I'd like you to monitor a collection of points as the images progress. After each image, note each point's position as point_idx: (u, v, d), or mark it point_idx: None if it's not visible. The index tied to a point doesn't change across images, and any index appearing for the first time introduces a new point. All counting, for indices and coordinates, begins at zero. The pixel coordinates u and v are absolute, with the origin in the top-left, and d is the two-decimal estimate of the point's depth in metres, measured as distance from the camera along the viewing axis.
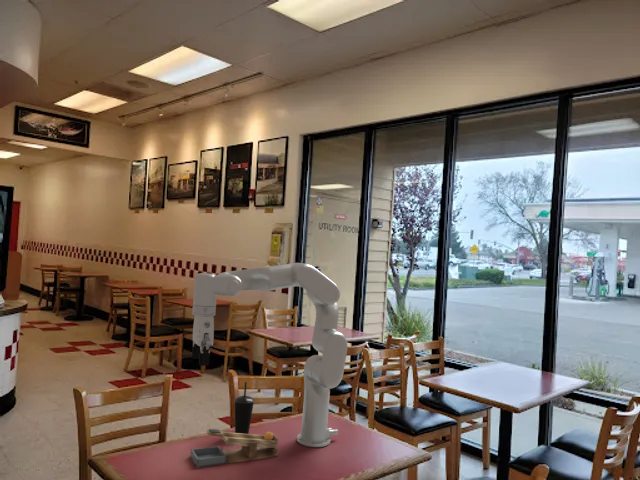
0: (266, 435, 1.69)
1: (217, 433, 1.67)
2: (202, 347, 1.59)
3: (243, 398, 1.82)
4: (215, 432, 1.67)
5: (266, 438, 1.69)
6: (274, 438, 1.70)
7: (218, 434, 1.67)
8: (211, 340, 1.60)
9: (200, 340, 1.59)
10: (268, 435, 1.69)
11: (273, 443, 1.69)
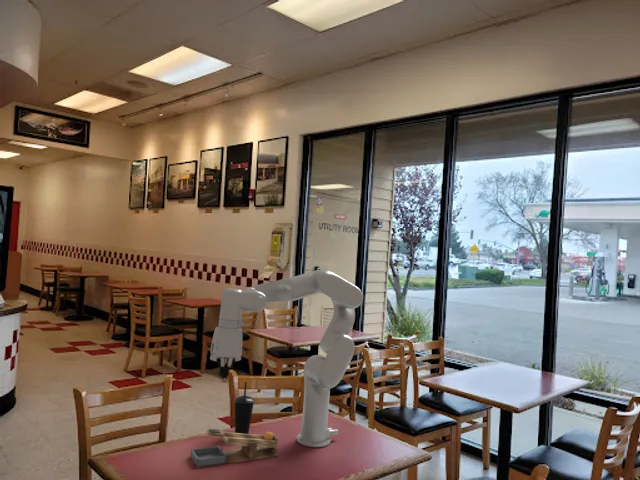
0: (266, 435, 1.69)
1: (217, 433, 1.67)
2: (231, 361, 1.70)
3: (243, 398, 1.82)
4: (215, 432, 1.67)
5: (266, 438, 1.69)
6: (274, 438, 1.70)
7: (218, 434, 1.67)
8: None
9: (241, 351, 1.71)
10: (268, 435, 1.69)
11: (273, 443, 1.69)
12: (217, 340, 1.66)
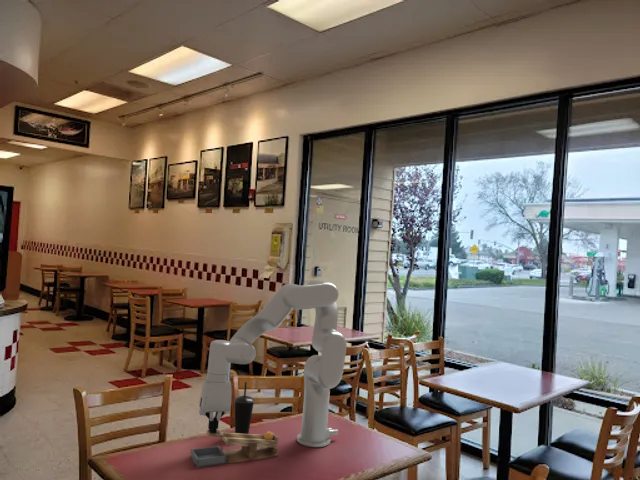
0: (266, 435, 1.69)
1: (217, 434, 1.67)
2: (220, 414, 1.68)
3: (243, 398, 1.82)
4: (215, 433, 1.67)
5: (266, 438, 1.69)
6: (274, 438, 1.70)
7: (218, 435, 1.67)
8: None
9: (230, 404, 1.69)
10: (268, 435, 1.69)
11: (273, 443, 1.69)
12: (205, 395, 1.64)
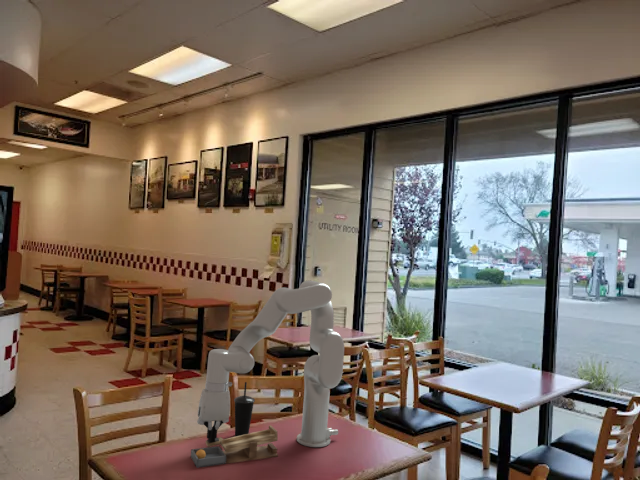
0: None
1: (216, 442, 1.67)
2: None
3: (243, 398, 1.82)
4: None
5: (204, 457, 1.59)
6: (273, 431, 1.70)
7: (217, 442, 1.67)
8: None
9: (229, 413, 1.68)
10: None
11: (273, 437, 1.68)
12: (204, 404, 1.64)
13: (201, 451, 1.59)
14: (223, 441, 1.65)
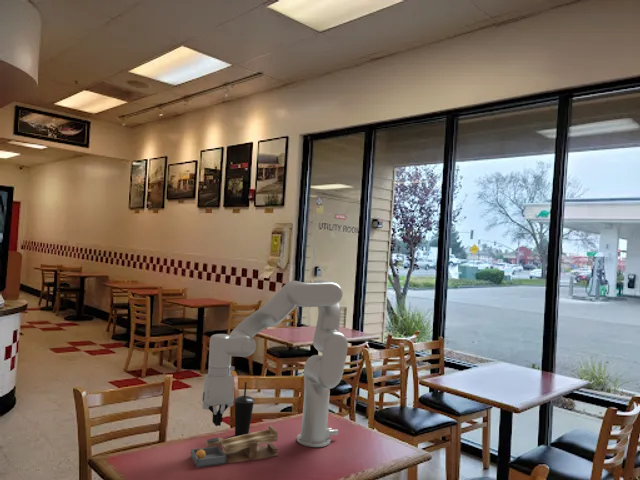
0: None
1: (216, 442, 1.67)
2: None
3: (243, 398, 1.82)
4: (214, 441, 1.67)
5: (204, 457, 1.59)
6: (273, 431, 1.70)
7: (217, 442, 1.67)
8: None
9: (233, 397, 1.69)
10: None
11: (273, 437, 1.68)
12: (208, 389, 1.64)
13: (201, 451, 1.59)
14: (223, 441, 1.65)
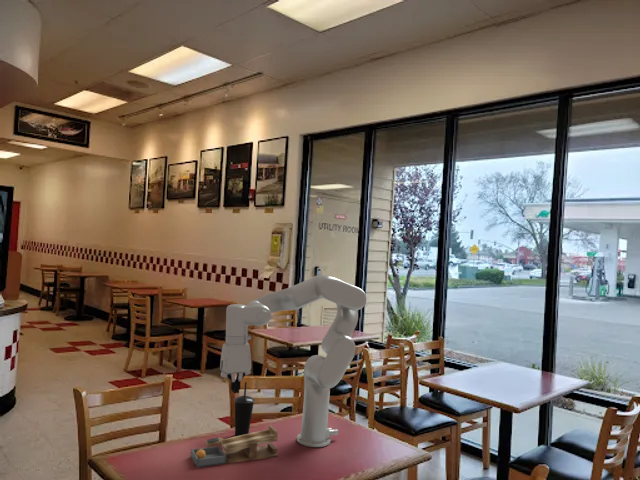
0: None
1: (216, 442, 1.67)
2: (242, 376, 1.72)
3: (243, 398, 1.82)
4: (214, 441, 1.67)
5: (204, 457, 1.59)
6: (273, 431, 1.70)
7: (217, 442, 1.67)
8: None
9: (250, 365, 1.73)
10: None
11: (273, 437, 1.68)
12: (226, 357, 1.69)
13: (201, 451, 1.59)
14: (223, 441, 1.65)
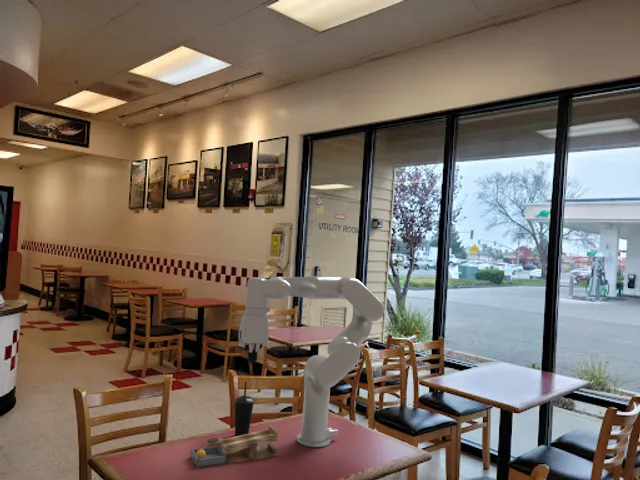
0: None
1: (216, 442, 1.67)
2: None
3: (243, 398, 1.82)
4: (214, 441, 1.67)
5: (204, 457, 1.59)
6: (273, 431, 1.70)
7: (217, 442, 1.67)
8: None
9: None
10: None
11: (273, 437, 1.68)
12: (245, 327, 1.73)
13: (201, 451, 1.59)
14: (223, 441, 1.65)
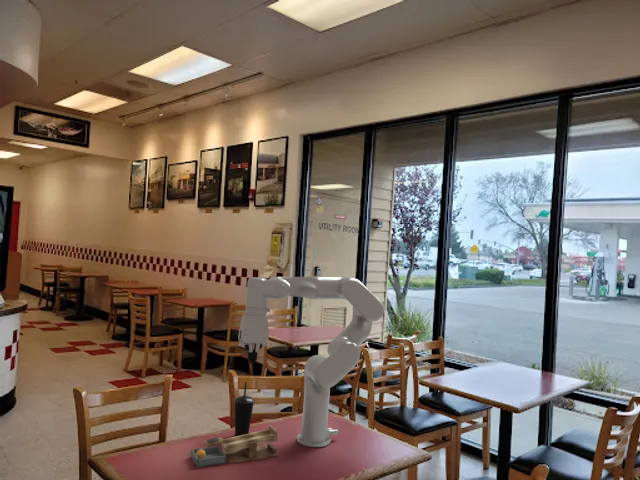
0: None
1: (216, 442, 1.67)
2: None
3: (243, 398, 1.82)
4: (214, 441, 1.67)
5: (204, 457, 1.59)
6: (273, 431, 1.70)
7: (217, 442, 1.67)
8: None
9: None
10: None
11: (273, 437, 1.68)
12: (245, 327, 1.73)
13: (201, 451, 1.59)
14: (223, 441, 1.65)
